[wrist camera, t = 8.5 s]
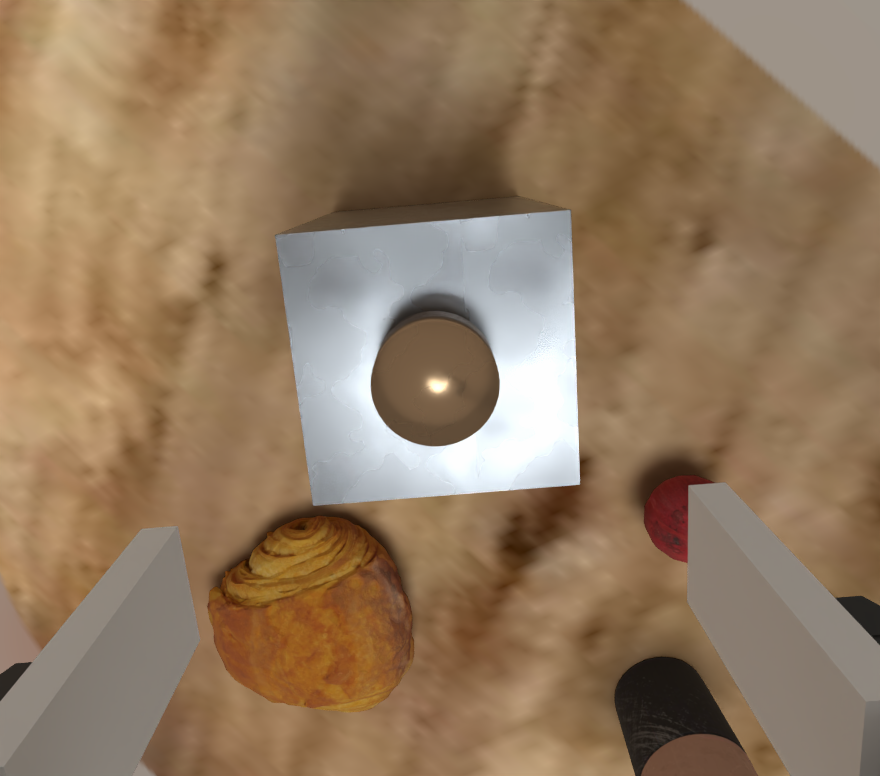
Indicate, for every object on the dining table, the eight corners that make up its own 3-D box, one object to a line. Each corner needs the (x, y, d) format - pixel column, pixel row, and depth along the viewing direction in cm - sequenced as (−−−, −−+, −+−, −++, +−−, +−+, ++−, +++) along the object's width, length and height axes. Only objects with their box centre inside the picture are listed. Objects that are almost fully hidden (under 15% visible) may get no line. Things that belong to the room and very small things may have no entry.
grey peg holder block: (518, 196, 48) (570, 209, 30) (528, 374, 52) (579, 484, 34) (334, 211, 49) (274, 235, 30) (355, 389, 52) (313, 505, 34)
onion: (631, 534, 55) (664, 592, 48) (632, 461, 54) (666, 509, 46) (710, 529, 55) (756, 587, 47) (714, 456, 54) (761, 503, 46)
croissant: (398, 490, 57) (393, 523, 49) (426, 682, 59) (426, 744, 51) (208, 515, 57) (173, 553, 49) (243, 706, 59) (214, 772, 51)
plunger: (497, 225, 47) (543, 261, 28) (505, 359, 50) (553, 481, 30) (359, 236, 48) (307, 281, 28) (373, 370, 50) (335, 499, 30)
